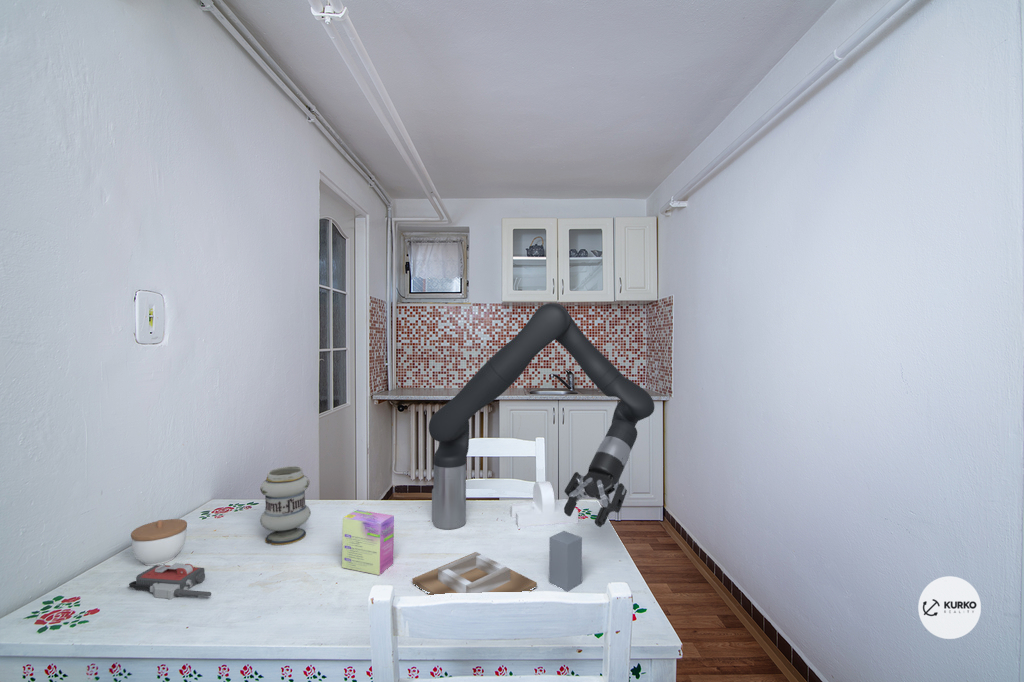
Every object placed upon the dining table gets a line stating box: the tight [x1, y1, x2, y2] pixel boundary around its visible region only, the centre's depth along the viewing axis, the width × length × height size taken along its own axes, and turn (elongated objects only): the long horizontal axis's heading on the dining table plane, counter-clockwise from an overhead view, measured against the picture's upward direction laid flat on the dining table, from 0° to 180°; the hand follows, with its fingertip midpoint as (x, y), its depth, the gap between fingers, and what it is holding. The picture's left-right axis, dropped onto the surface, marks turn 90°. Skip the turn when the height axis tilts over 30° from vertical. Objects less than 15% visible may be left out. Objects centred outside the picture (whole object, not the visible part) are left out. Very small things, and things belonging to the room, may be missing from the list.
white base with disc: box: [510, 480, 579, 528], centre depth 138 cm, size 18×10×11 cm, turn 103°
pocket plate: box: [411, 551, 538, 596], centre depth 100 cm, size 20×18×4 cm
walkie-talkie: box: [128, 562, 212, 600], centre depth 99 cm, size 9×4×20 cm
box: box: [341, 509, 395, 576], centre depth 109 cm, size 10×6×12 cm, turn 71°
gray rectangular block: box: [548, 530, 583, 593], centre depth 102 cm, size 5×5×10 cm
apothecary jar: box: [259, 465, 311, 546], centre depth 124 cm, size 12×12×18 cm
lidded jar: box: [130, 518, 188, 567], centre depth 112 cm, size 11×11×9 cm
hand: (581, 519), depth 106 cm, fingers open, 8 cm apart
